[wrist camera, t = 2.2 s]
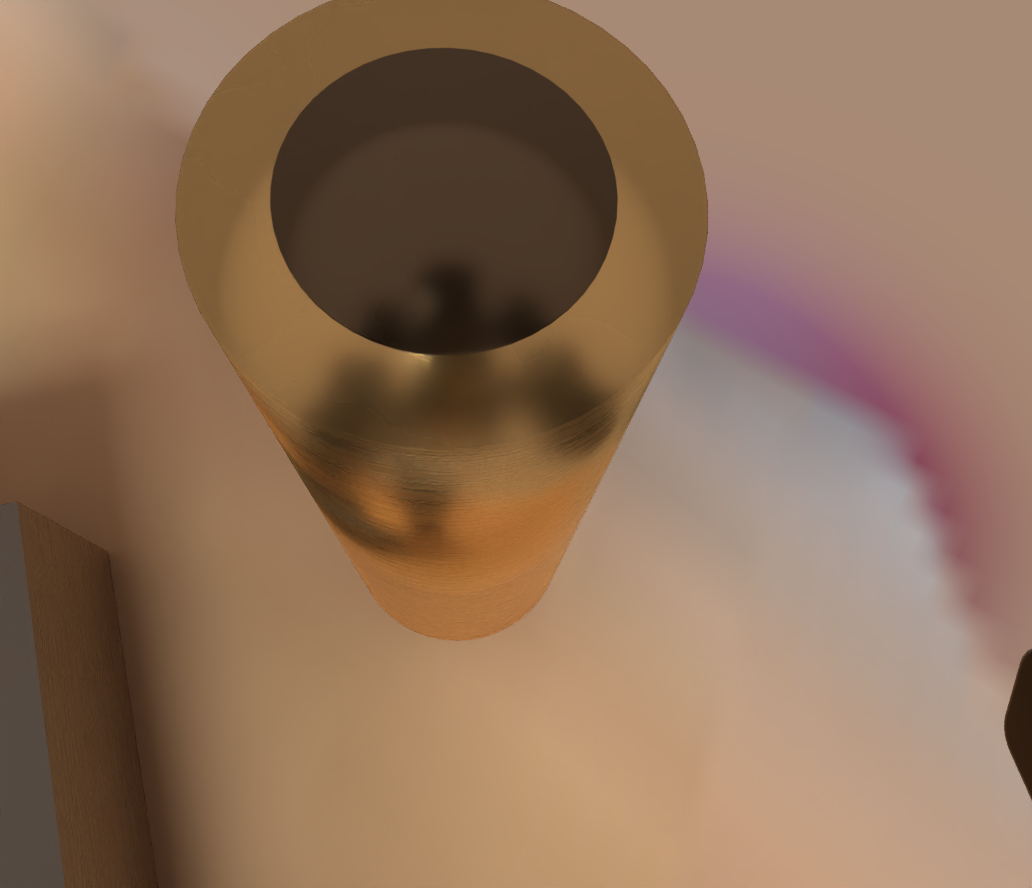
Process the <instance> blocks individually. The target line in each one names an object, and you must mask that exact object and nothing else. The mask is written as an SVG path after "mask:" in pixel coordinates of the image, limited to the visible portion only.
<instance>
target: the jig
mask: <svg viewBox="0 0 1032 888" xmlns="http://www.w3.org/2000/svg"><path fill="white" fill-rule="evenodd" d="M0 888H158V885H157V879H156V872H155V865H154V859H153V852H152V845H151V839H150V832H149V825H148V818H147V812H146V805H145V798H144V792H143V785H142V778H141V772H140V765H139V758H138V752H137V745H136V738H135V731H134V725H133V718H132V711H131V705H130V698H129V691H128V685H127V678H126V671H125V665H124V658H123V651H122V644H121V638H120V631H119V624H118V618H117V611H116V604H115V598H114V591H113V584H112V578H111V571H110V564H109V557H108V552H107V551H106V550H104V549H102V548H100V547H98V546H97V545H95V544H93V543H91V542H89V541H88V540H86V539H84V538H82V537H80V536H78V535H77V534H75V533H73V532H71V531H69V530H68V529H66V528H64V527H62V526H60V525H59V524H57V523H55V522H53V521H51V520H49V519H48V518H46V517H44V516H42V515H40V514H39V513H37V512H35V511H33V510H31V509H30V508H28V507H26V506H24V505H22V504H21V503H19V502H13V503H8V504H4V505H0Z"/></svg>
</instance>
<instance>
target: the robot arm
mask: <svg viewBox="0 0 1032 888" xmlns="http://www.w3.org/2000/svg"><path fill="white" fill-rule="evenodd" d="M1004 731H1005V738H1006V741H1007V745H1008V748H1009V750H1010V753H1011V755H1012V757H1013V759H1014V762H1015V764H1016V766H1017V768H1018V771H1019V773H1020V775H1021V777H1022V780H1023V782H1024V784H1025V786H1026V788H1027V791H1028V793H1029V795H1030V797H1031V800H1032V649H1030V650H1028V651H1027V652H1026V653H1025V655H1024V656H1023V657H1022V659H1021V662H1020V665H1019V669H1018V672H1017V676H1016V679H1015V683H1014V686H1013V690H1012V694H1011V697H1010V701H1009V704H1008V708H1007V711H1006V715H1005V721H1004Z"/></svg>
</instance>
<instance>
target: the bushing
mask: <svg viewBox="0 0 1032 888" xmlns="http://www.w3.org/2000/svg"><path fill="white" fill-rule="evenodd" d="M176 229H177V238H178V247H179V253H180V257H181V261H182V265H183V268H184V272H185V276H186V280H187V283H188V285H189V288H190V290H191V292H192V294H193V297H194V299H195V301H196V304H197V306H198V308H199V310H200V313H201V314H202V316H203V318H204V319H205V321H206V322H207V324H208V326H209V327H210V329H211V331H212V332H213V334H214V336H215V337H216V339H217V341H218V342H219V344H220V346H221V347H222V349H223V350H224V352H225V354H226V355H227V357H228V359H229V360H230V362H231V364H232V365H233V367H234V369H235V370H236V372H237V373H238V375H239V377H240V378H241V380H242V382H243V383H244V385H245V387H246V388H247V390H248V392H249V393H250V395H251V396H252V398H253V400H254V401H255V403H256V405H257V406H258V408H259V410H260V411H261V413H262V415H263V416H264V418H265V419H266V421H267V423H268V424H269V426H270V428H271V429H272V431H273V433H274V434H275V436H276V438H277V439H278V441H279V442H280V444H281V446H282V447H283V449H284V451H285V452H286V454H287V456H288V457H289V459H290V461H291V462H292V464H293V466H294V467H295V469H296V470H297V472H298V474H299V475H300V477H301V479H302V480H303V482H304V484H305V485H306V487H307V489H308V490H309V492H310V493H311V495H312V497H313V498H314V500H315V502H316V503H317V505H318V507H319V508H320V510H321V512H322V513H323V515H324V516H325V518H326V520H327V521H328V523H329V525H330V526H331V528H332V530H333V531H334V533H335V535H336V536H337V538H338V539H339V541H340V543H341V544H342V546H343V548H344V549H345V551H346V553H347V554H348V556H349V558H350V559H351V561H352V562H353V564H354V566H355V567H356V569H357V571H358V572H359V574H360V576H361V577H362V579H363V581H364V582H365V584H366V586H367V587H368V589H369V590H370V592H371V594H372V595H373V597H374V598H375V600H376V601H377V602H378V603H379V604H380V606H381V607H382V608H383V609H384V610H385V611H386V612H387V613H388V614H389V615H390V616H391V617H393V618H394V619H395V620H397V621H398V622H399V623H401V624H402V625H404V626H406V627H407V628H409V629H411V630H413V631H415V632H418V633H420V634H423V635H426V636H429V637H433V638H438V639H443V640H471V639H476V638H481V637H485V636H488V635H491V634H494V633H497V632H499V631H501V630H503V629H505V628H507V627H509V626H511V625H512V624H514V623H515V622H517V621H518V620H520V619H521V618H522V617H523V616H524V615H525V614H527V613H528V612H529V611H530V610H531V609H532V608H533V607H534V605H535V604H536V603H537V602H538V601H539V600H540V598H541V597H542V595H543V594H544V592H545V591H546V589H547V587H548V585H549V583H550V581H551V579H552V577H553V575H554V573H555V571H556V569H557V567H558V565H559V563H560V561H561V559H562V557H563V555H564V553H565V551H566V549H567V547H568V545H569V543H570V541H571V539H572V537H573V535H574V533H575V531H576V529H577V527H578V525H579V523H580V521H581V519H582V517H583V515H584V513H585V511H586V509H587V507H588V505H589V503H590V501H591V499H592V497H593V495H594V493H595V491H596V489H597V487H598V485H599V483H600V481H601V479H602V477H603V475H604V473H605V471H606V469H607V467H608V465H609V463H610V461H611V459H612V457H613V455H614V453H615V451H616V449H617V447H618V445H619V443H620V441H621V439H622V437H623V435H624V433H625V431H626V429H627V427H628V425H629V423H630V421H631V419H632V417H633V415H634V413H635V411H636V409H637V407H638V405H639V403H640V401H641V399H642V397H643V395H644V393H645V391H646V389H647V387H648V385H649V383H650V381H651V379H652V377H653V375H654V373H655V371H656V369H657V366H658V364H659V362H660V360H661V358H662V356H663V354H664V352H665V350H666V348H667V346H668V344H669V342H670V340H671V338H672V336H673V334H674V332H675V330H676V328H677V326H678V324H679V322H680V320H681V318H682V316H683V314H684V312H685V310H686V308H687V306H688V304H689V302H690V300H691V298H692V296H693V293H694V290H695V287H696V284H697V281H698V278H699V274H700V271H701V268H702V265H703V258H704V253H705V247H706V241H707V234H708V200H707V193H706V186H705V179H704V172H703V169H702V165H701V162H700V158H699V155H698V151H697V148H696V144H695V142H694V140H693V138H692V135H691V133H690V131H689V129H688V126H687V124H686V122H685V120H684V118H683V116H682V114H681V112H680V111H679V109H678V107H677V106H676V104H675V103H674V101H673V100H672V98H671V96H670V95H669V93H668V91H667V90H666V89H665V88H664V86H663V85H662V84H661V83H660V81H659V80H658V79H657V78H656V77H655V75H654V74H653V73H652V72H651V70H650V69H649V68H648V67H647V66H646V65H645V64H644V63H643V62H642V61H641V60H640V59H639V58H638V57H637V56H636V55H635V54H633V53H632V52H631V51H630V50H629V49H628V48H627V47H626V46H625V45H624V44H622V43H621V42H620V41H618V40H617V39H616V38H614V37H613V36H612V35H610V34H609V33H608V32H606V31H605V30H604V29H602V28H601V27H599V26H597V25H596V24H594V23H592V22H591V21H589V20H587V19H586V18H584V17H582V16H580V15H579V14H577V13H575V12H573V11H571V10H569V9H567V8H564V7H562V6H560V5H558V4H555V3H553V2H551V1H548V0H332V1H329V2H327V3H324V4H322V5H320V6H318V7H316V8H314V9H312V10H310V11H308V12H306V13H304V14H302V15H300V16H298V17H296V18H295V19H293V20H291V21H290V22H288V23H287V24H285V25H284V26H282V27H281V28H279V29H278V30H276V31H274V32H273V33H271V34H270V35H269V36H267V37H266V38H265V39H264V40H263V41H261V42H260V43H259V44H258V45H257V46H255V47H254V48H253V49H252V50H251V51H249V52H248V53H247V54H246V55H245V56H244V57H243V58H242V59H241V60H240V61H239V62H238V64H237V65H236V66H235V67H234V68H233V69H232V70H231V71H230V72H229V73H228V74H227V75H226V76H225V78H224V79H223V81H222V82H221V83H220V85H219V86H218V88H217V89H216V90H215V92H214V93H213V95H212V96H211V97H210V99H209V100H208V102H207V103H206V105H205V107H204V109H203V111H202V113H201V115H200V117H199V119H198V121H197V123H196V124H195V126H194V128H193V131H192V133H191V136H190V139H189V142H188V145H187V148H186V151H185V153H184V156H183V160H182V165H181V170H180V175H179V180H178V185H177V196H176Z"/></svg>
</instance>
